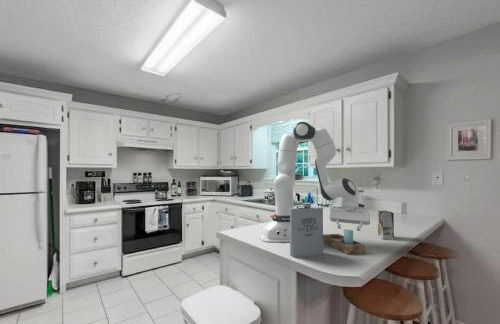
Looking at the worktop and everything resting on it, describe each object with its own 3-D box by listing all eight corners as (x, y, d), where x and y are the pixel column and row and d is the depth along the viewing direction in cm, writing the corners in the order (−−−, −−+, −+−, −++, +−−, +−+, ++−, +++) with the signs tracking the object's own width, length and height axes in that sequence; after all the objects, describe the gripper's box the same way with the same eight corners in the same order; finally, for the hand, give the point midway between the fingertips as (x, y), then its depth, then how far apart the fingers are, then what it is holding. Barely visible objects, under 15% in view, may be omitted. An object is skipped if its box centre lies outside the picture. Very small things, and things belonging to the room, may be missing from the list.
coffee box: (394, 240, 139) (394, 212, 140) (382, 239, 140) (382, 212, 141) (388, 236, 148) (388, 210, 149) (377, 235, 149) (377, 210, 150)
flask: (293, 258, 108) (293, 203, 109) (288, 254, 112) (288, 202, 113) (325, 254, 113) (325, 202, 114) (320, 251, 117) (319, 201, 119)
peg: (347, 252, 117) (347, 231, 117) (342, 249, 121) (342, 229, 122) (355, 251, 118) (355, 231, 118) (349, 248, 122) (349, 229, 123)
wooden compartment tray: (347, 254, 113) (347, 246, 113) (323, 241, 134) (323, 234, 134) (364, 253, 115) (364, 245, 115) (338, 240, 137) (338, 233, 137)
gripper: (330, 203, 134) (327, 223, 125) (370, 205, 124) (370, 227, 115) (331, 209, 138) (328, 230, 128) (370, 212, 128) (370, 234, 119)
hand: (348, 229), depth 122 cm, fingers open, 8 cm apart
